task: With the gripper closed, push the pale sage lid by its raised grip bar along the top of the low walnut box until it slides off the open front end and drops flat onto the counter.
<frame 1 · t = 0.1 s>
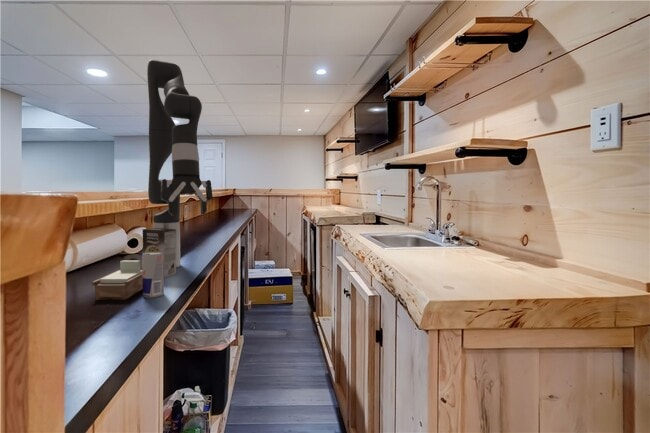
hand: (188, 214, 107), 22 cm above the worktop, tool pointing down, fingers open, 8 cm apart
lid: (123, 278, 104), point 4 cm above the worktop, touching walnut box
walnut box: (122, 292, 104), on the worktop
coffee box: (160, 275, 126), on the worktop
energy drink: (153, 296, 102), on the worktop
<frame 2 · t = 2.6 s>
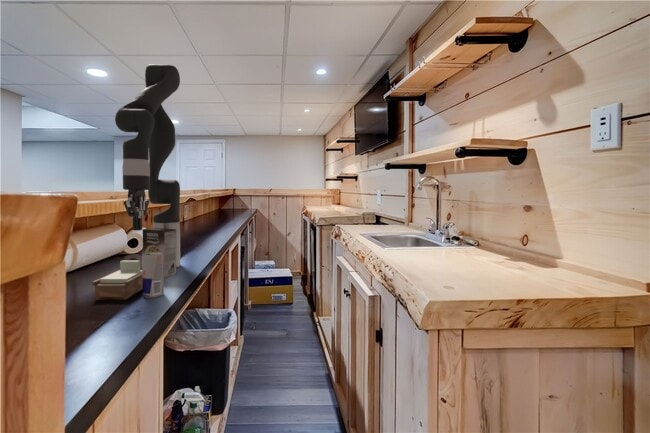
hand: (137, 230, 113), 17 cm above the worktop, tool pointing down, fingers closed
nothing on the worktop moved.
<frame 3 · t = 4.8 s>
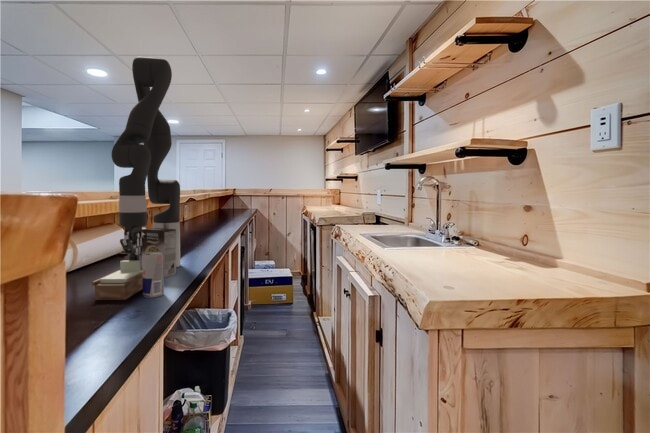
hand: (134, 266, 111), 6 cm above the worktop, tool pointing down, fingers closed
lid: (123, 278, 104), point 4 cm above the worktop, touching gripper, walnut box
everything else where it was.
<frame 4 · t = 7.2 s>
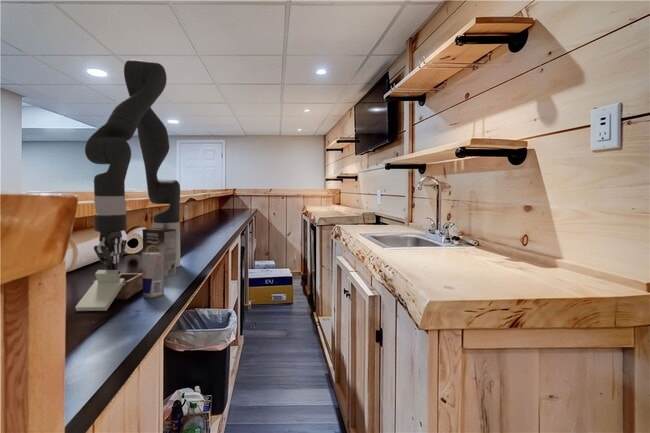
hand: (112, 276, 98), 6 cm above the worktop, tool pointing down, fingers closed
lid: (102, 295, 93), point 2 cm above the worktop, tilted 24°, touching gripper
everything else where it was.
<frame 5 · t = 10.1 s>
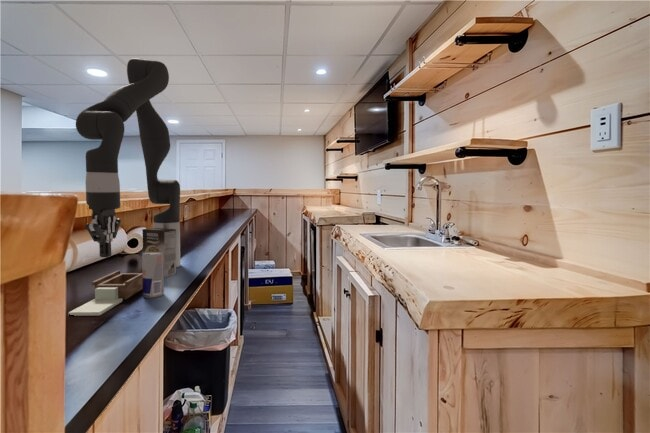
hand: (105, 256, 95), 12 cm above the worktop, tool pointing down, fingers closed
lid: (97, 309, 91), on the worktop
everything else where it was.
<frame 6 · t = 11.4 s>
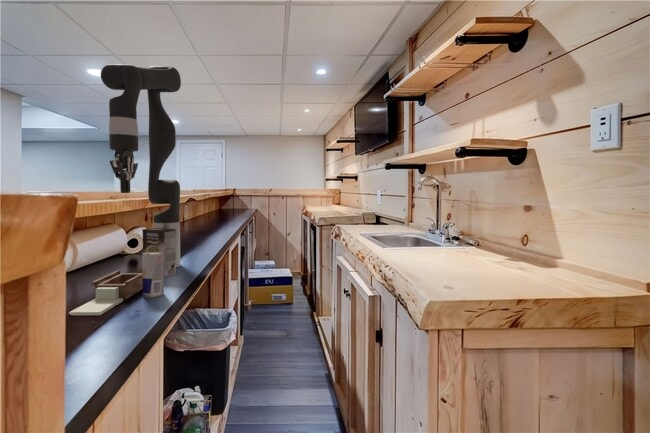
hand: (125, 192, 109), 29 cm above the worktop, tool pointing down, fingers closed
nothing on the worktop moved.
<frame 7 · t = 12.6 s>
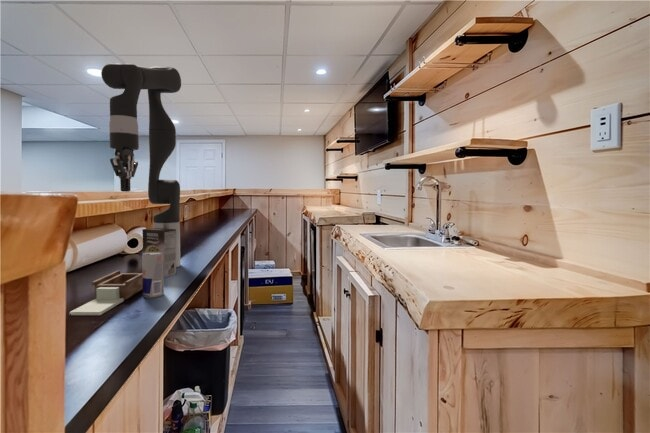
hand: (125, 191, 109), 29 cm above the worktop, tool pointing down, fingers closed
nothing on the worktop moved.
at the end: lid inside the target area (6.3 cm from its centre), on the worktop; lid touching worktop; the gripper is holding nothing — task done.
